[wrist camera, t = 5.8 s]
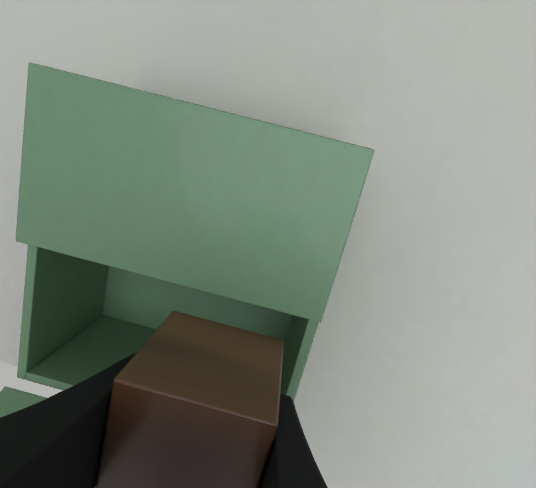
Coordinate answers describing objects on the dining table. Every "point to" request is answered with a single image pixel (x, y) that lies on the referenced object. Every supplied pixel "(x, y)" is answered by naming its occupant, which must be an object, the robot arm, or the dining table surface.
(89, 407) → the robot arm
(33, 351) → the carton
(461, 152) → the dining table surface
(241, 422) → the block
